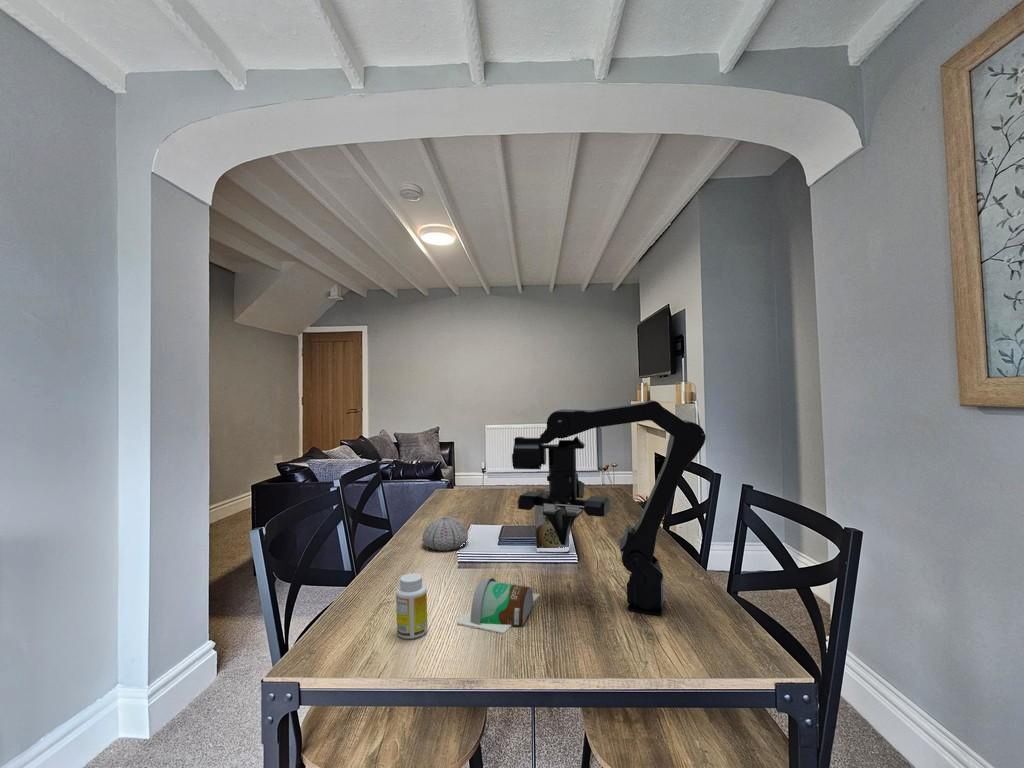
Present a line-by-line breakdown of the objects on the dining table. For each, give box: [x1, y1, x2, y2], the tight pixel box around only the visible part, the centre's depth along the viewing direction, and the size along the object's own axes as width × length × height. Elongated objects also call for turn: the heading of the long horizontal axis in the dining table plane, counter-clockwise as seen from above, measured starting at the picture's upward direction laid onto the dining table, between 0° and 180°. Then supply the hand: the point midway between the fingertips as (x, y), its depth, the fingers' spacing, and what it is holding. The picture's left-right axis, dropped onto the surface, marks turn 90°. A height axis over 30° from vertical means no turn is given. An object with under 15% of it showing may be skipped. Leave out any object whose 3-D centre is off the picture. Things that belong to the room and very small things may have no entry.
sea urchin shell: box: [421, 516, 469, 552], centre depth 142 cm, size 13×14×8 cm
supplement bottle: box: [395, 573, 428, 640], centre depth 91 cm, size 6×6×10 cm
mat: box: [456, 592, 541, 635], centre depth 100 cm, size 10×18×1 cm, turn 155°
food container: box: [470, 577, 534, 626], centre depth 98 cm, size 12×6×10 cm
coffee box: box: [534, 488, 570, 548], centre depth 137 cm, size 9×6×16 cm
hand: (563, 544), depth 103 cm, fingers closed
